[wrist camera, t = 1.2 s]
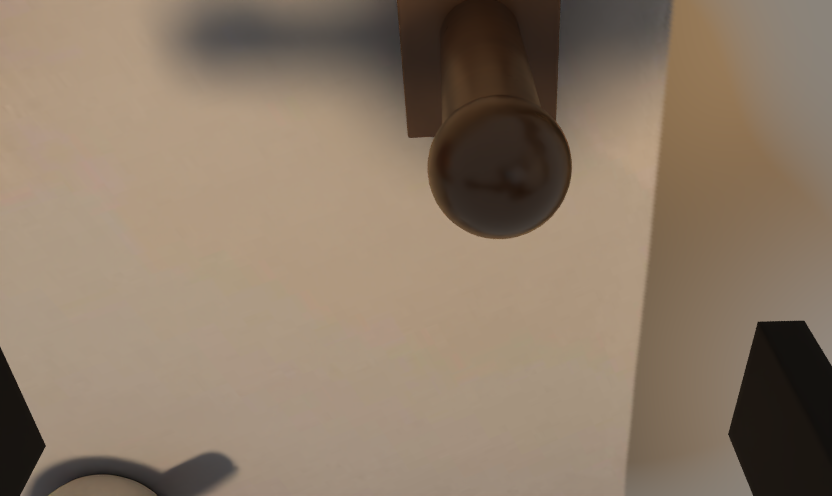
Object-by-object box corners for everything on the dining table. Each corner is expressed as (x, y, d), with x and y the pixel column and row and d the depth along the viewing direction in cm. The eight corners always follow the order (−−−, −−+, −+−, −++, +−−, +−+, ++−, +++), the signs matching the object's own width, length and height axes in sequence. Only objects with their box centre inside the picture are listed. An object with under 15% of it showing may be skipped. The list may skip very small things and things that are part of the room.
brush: (395, -97, 29) (368, 54, 16) (548, -107, 29) (642, 38, 16) (410, 96, 33) (397, 333, 21) (543, 88, 33) (613, 325, 20)
